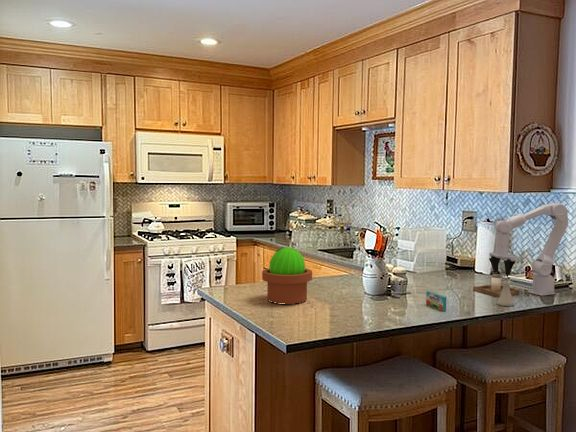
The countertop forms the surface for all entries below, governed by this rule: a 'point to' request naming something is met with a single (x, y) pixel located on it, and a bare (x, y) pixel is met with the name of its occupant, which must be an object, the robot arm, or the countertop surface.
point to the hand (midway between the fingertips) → (501, 273)
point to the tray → (487, 290)
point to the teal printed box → (436, 300)
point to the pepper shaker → (496, 283)
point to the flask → (505, 296)
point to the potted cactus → (287, 277)
